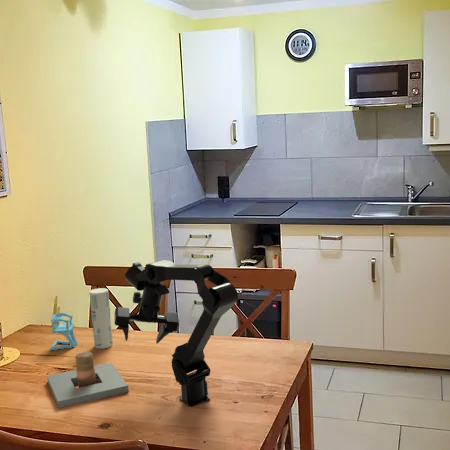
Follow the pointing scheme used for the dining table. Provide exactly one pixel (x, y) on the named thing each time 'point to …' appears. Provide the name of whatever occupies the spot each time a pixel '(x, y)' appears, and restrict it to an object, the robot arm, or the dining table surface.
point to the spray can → (101, 318)
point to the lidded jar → (85, 369)
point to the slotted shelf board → (70, 395)
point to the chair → (63, 331)
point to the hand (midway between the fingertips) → (141, 341)
